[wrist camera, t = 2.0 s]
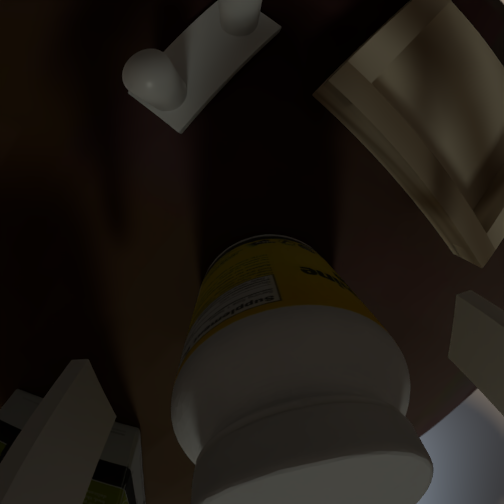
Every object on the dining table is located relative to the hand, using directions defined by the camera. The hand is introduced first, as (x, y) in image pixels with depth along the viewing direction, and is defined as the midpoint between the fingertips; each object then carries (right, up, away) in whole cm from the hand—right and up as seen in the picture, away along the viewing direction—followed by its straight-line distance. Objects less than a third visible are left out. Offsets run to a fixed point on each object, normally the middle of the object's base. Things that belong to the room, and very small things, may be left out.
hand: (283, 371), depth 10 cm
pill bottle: (0, +2, +5) cm, 6 cm away
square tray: (+9, +11, +3) cm, 15 cm away
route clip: (-3, +12, +2) cm, 13 cm away
